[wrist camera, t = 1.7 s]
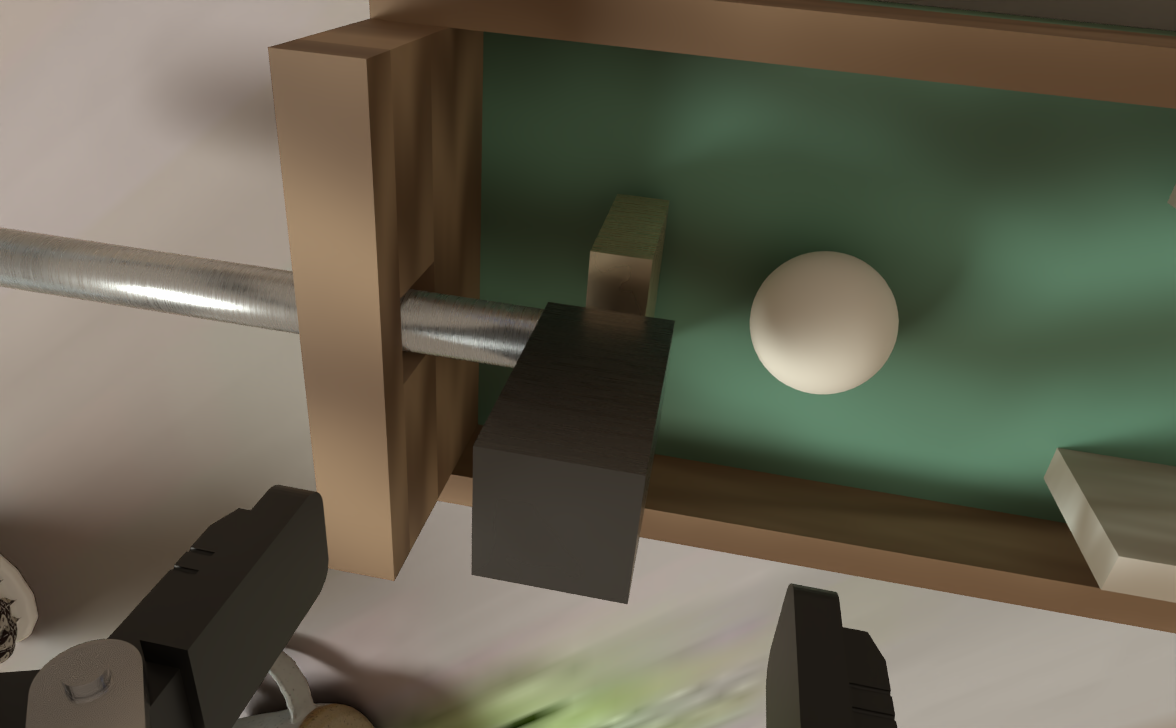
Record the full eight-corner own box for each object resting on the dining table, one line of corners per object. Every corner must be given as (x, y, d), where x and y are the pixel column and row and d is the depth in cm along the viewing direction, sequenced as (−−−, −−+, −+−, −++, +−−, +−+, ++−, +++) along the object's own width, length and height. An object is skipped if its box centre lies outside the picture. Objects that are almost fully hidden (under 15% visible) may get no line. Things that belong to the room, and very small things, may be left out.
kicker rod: (-16, 109, 26) (-506, 236, 16) (695, 204, 23) (652, 426, 13) (26, 257, 28) (-374, 447, 18) (672, 356, 26) (622, 641, 16)
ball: (763, 222, 24) (765, 275, 20) (903, 241, 23) (929, 298, 20) (739, 342, 26) (737, 408, 22) (868, 361, 25) (886, 432, 22)
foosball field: (431, -45, 23) (260, -21, 15) (1519, 66, 20) (2037, 170, 12) (438, 420, 31) (328, 599, 23) (1219, 552, 28) (1408, 811, 20)
